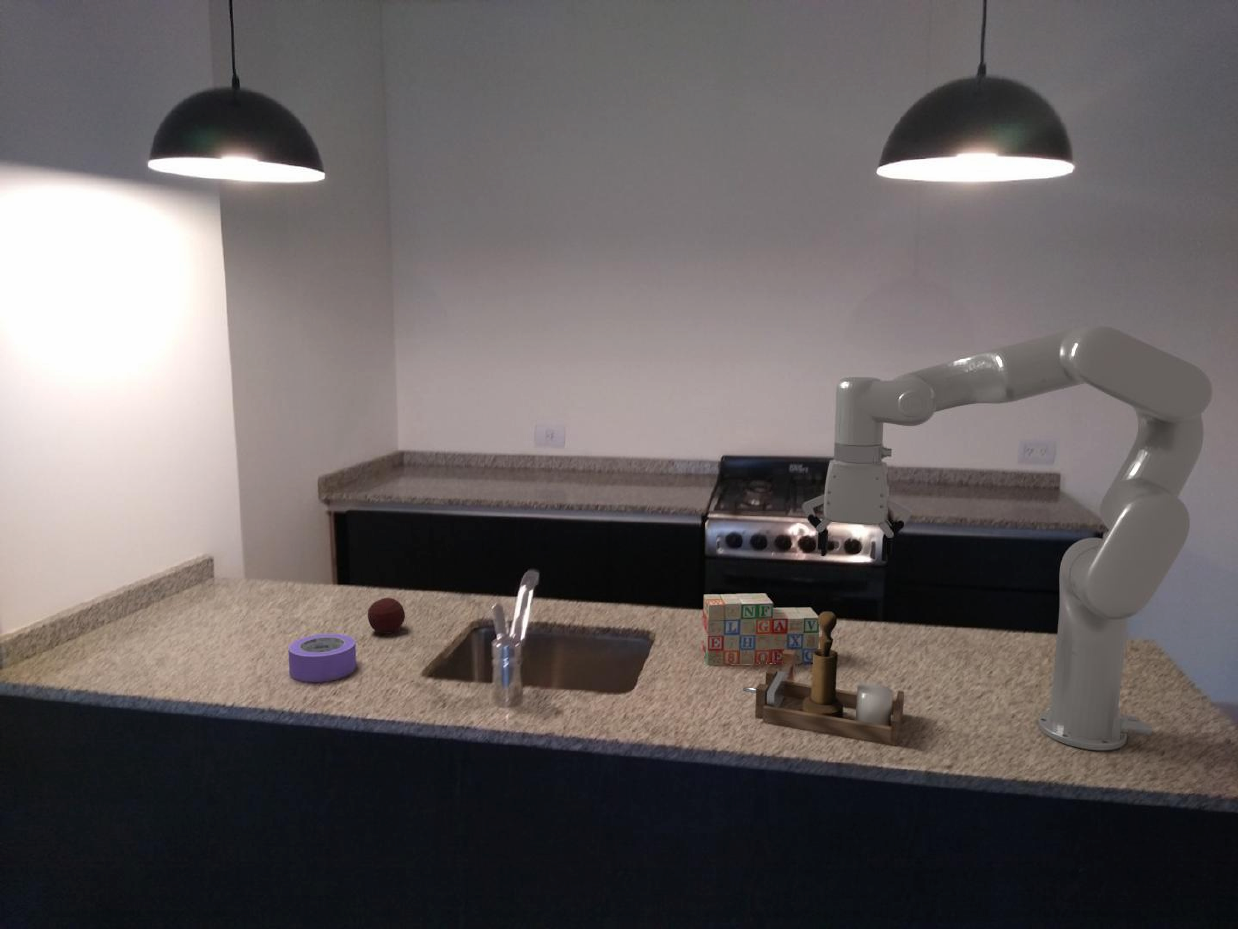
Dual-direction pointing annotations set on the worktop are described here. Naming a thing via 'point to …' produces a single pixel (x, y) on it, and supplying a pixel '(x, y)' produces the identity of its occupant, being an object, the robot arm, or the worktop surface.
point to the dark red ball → (386, 615)
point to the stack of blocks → (756, 630)
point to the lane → (826, 722)
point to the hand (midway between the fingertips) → (854, 556)
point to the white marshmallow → (874, 704)
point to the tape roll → (322, 657)
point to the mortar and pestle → (824, 673)
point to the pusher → (780, 680)
